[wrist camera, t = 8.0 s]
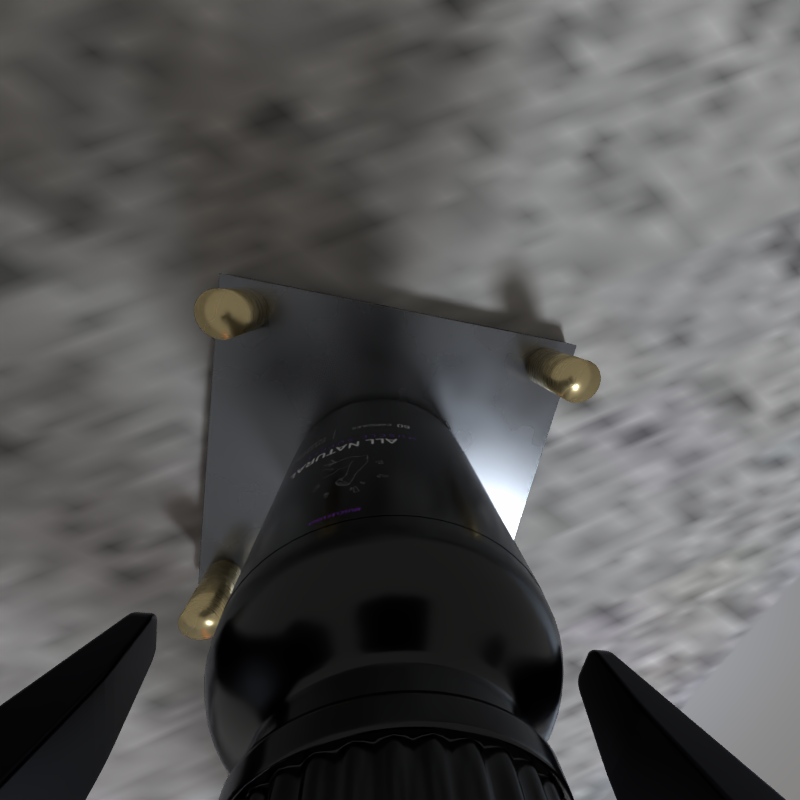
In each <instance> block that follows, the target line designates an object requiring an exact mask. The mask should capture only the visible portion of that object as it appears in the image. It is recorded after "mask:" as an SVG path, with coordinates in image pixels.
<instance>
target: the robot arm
mask: <svg viewBox="0 0 800 800" xmlns="http://www.w3.org/2000/svg"><path fill="white" fill-rule="evenodd" d="M156 633H157V617H156V615H155V614H152V613H140V612H134V613H131V614H129V615H127V616H126V617H124V618H123V619H122V620H120V621H119V622H117V623H116V624H115V625H113V626H112V627H110V628H109V629H107V630H106V631H105V632H103V633H102V634H100V635H99V636H98V637H96V638H95V639H93V640H92V641H91V642H89V643H88V644H86V645H85V646H84V647H82V648H81V649H79V650H78V651H77V652H75V653H74V654H72V655H71V656H69V657H68V658H67V659H65V660H64V661H62V662H61V663H60V664H58V665H57V666H55V667H54V668H53V669H51V670H50V671H48V672H47V673H46V674H44V675H43V676H41V677H40V678H39V679H37V680H36V681H34V682H33V683H31V684H30V685H29V686H27V687H26V688H24V689H23V690H22V691H20V692H19V693H17V694H16V695H15V696H13V697H12V698H10V699H9V700H8V701H6V702H5V703H3V704H2V705H1V706H0V800H86V798H87V796H88V794H89V793H90V791H91V789H92V787H93V785H94V784H95V782H96V780H97V778H98V776H99V774H100V772H101V771H102V769H103V767H104V765H105V763H106V761H107V759H108V757H109V755H110V753H111V750H112V748H113V746H114V744H115V742H116V740H117V737H118V735H119V733H120V731H121V729H122V726H123V724H124V722H125V720H126V718H127V715H128V713H129V711H130V709H131V707H132V704H133V702H134V700H135V698H136V696H137V693H138V691H139V689H140V687H141V684H142V682H143V680H144V678H145V676H146V673H147V671H148V669H149V667H150V665H151V662H152V660H153V657H154V654H155V650H156ZM578 685H579V690H580V694H581V697H582V700H583V703H584V706H585V709H586V712H587V715H588V718H589V721H590V724H591V727H592V730H593V733H594V736H595V740H596V743H597V746H598V749H599V752H600V755H601V758H602V761H603V764H604V767H605V770H606V772H607V775H608V778H609V781H610V783H611V786H612V788H613V791H614V794H615V796H616V798H617V800H785V799H784V798H783V797H782V796H781V795H779V794H778V793H777V792H776V791H775V790H774V789H773V788H771V787H770V786H769V785H768V784H766V783H765V782H764V781H763V780H762V779H760V777H758V776H757V775H756V774H755V773H754V772H752V771H751V770H750V769H749V768H748V767H746V766H745V765H744V764H743V763H742V762H741V761H739V760H738V759H737V758H736V757H735V756H733V755H732V754H731V753H730V752H729V751H728V750H726V749H725V748H724V747H723V746H722V745H720V744H719V743H718V742H717V741H716V740H715V739H713V738H712V737H711V736H710V735H708V734H707V733H706V732H705V731H704V730H703V729H702V728H700V727H699V726H698V725H696V723H694V722H693V721H692V720H691V719H689V718H688V717H687V716H686V715H685V714H684V713H683V712H681V711H680V710H679V709H678V708H677V707H675V706H674V705H673V704H672V703H671V702H670V701H668V700H667V699H666V698H665V697H664V696H662V695H661V694H660V693H659V692H658V691H657V690H655V689H654V688H653V687H652V686H651V685H649V684H648V683H647V682H646V681H645V680H644V679H642V678H641V677H640V676H639V675H638V674H636V673H635V672H634V671H633V670H632V669H631V668H629V667H628V666H627V665H626V664H625V663H623V662H622V661H621V660H620V659H619V658H617V657H616V656H615V655H614V654H613V653H611V652H609V651H602V650H592V651H590V652H589V653H588V655H587V658H586V660H585V663H584V665H583V667H582V670H581V672H580V674H579V678H578Z"/></svg>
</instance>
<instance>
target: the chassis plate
mask: <svg viewBox="0 0 800 800" xmlns="http://www.w3.org/2000/svg"><path fill="white" fill-rule="evenodd" d="M194 314H195V319H196V321H197V323H198V325H199V327H200V328H201V329H202V330H203V331H204V332H205V333H206V334H207V335H209V336H211V337H213V338H215V344H214V359H213V374H212V389H211V404H210V419H209V434H208V449H207V463H206V478H205V493H204V508H203V523H202V538H201V553H200V568H199V583H198V586H197V588H196V590H195V592H194V593H193V595H192V597H191V599H190V600H189V602H188V604H187V606H186V607H185V609H184V611H183V613H182V614H181V616H180V618H179V621H178V626H179V629H180V631H181V632H182V633H183V634H184V635H185V636H187V637H189V638H191V639H195V640H204V639H208V638H211V637H212V636H214V633H215V630H216V628H217V625H218V623H219V620H220V618H221V615H222V613H223V610H224V608H225V605H226V603H227V601H228V599H229V597H230V594H231V592H232V590H233V588H234V586H235V583H236V581H237V579H238V577H239V575H240V573H241V570H242V568H243V566H244V564H245V562H246V560H247V557H248V555H249V553H250V551H251V549H252V546H253V544H254V542H255V540H256V538H257V536H258V533H259V531H260V529H261V527H262V525H263V523H264V520H265V518H266V516H267V514H268V512H269V510H270V507H271V505H272V503H273V501H274V499H275V496H276V494H277V492H278V490H279V488H280V486H281V483H282V481H283V479H284V477H285V475H286V473H287V470H288V468H289V466H290V464H291V462H292V460H293V458H294V456H295V454H296V452H297V450H298V448H299V446H300V444H301V443H302V441H303V440H304V438H305V437H306V435H307V434H308V433H309V432H310V430H311V429H312V428H313V427H314V426H315V425H316V424H317V423H318V422H319V421H321V420H322V419H323V418H324V417H326V416H327V415H329V414H330V413H332V412H333V411H335V410H337V409H339V408H341V407H344V406H346V405H349V404H352V403H356V402H359V401H365V400H372V399H389V400H397V401H402V402H406V403H409V404H413V405H415V406H418V407H420V408H422V409H424V410H426V411H428V412H429V413H431V414H432V415H434V416H435V417H436V418H438V419H439V420H440V421H441V422H442V423H443V424H444V425H445V426H446V427H447V428H448V429H449V430H450V431H451V433H452V434H453V435H454V436H455V438H456V440H457V441H458V443H459V445H460V446H461V448H462V449H463V451H464V453H465V454H466V456H467V458H468V460H469V461H470V463H471V465H472V467H473V469H474V470H475V472H476V474H477V476H478V477H479V479H480V481H481V483H482V485H483V486H484V488H485V490H486V492H487V493H488V495H489V497H490V499H491V501H492V502H493V504H494V506H495V508H496V509H497V511H498V513H499V515H500V516H501V518H502V520H503V522H504V524H505V525H506V527H507V529H508V531H509V532H510V534H511V536H512V538H513V540H514V537H515V534H516V531H517V528H518V525H519V521H520V518H521V515H522V512H523V509H524V506H525V503H526V500H527V497H528V494H529V491H530V487H531V484H532V481H533V478H534V475H535V472H536V469H537V466H538V463H539V460H540V457H541V454H542V450H543V447H544V444H545V441H546V438H547V435H548V432H549V429H550V426H551V423H552V420H553V416H554V413H555V410H556V407H557V404H558V401H559V398H560V397H562V398H563V399H565V400H567V401H569V402H573V403H579V402H583V401H586V400H588V399H589V398H591V397H592V396H593V395H594V394H595V393H596V391H597V390H598V388H599V385H600V381H601V376H600V371H599V369H598V367H597V366H596V365H595V364H594V363H592V362H590V361H587V360H584V359H581V358H578V357H575V356H573V355H574V352H575V348H576V345H573V344H569V343H566V342H561V341H556V340H551V339H546V338H541V337H536V336H531V335H526V334H521V333H516V332H511V331H506V330H501V329H496V328H491V327H486V326H481V325H476V324H471V323H466V322H462V321H457V320H452V319H447V318H442V317H437V316H432V315H427V314H422V313H417V312H412V311H407V310H402V309H397V308H392V307H387V306H382V305H377V304H372V303H367V302H362V301H357V300H352V299H347V298H342V297H338V296H333V295H328V294H323V293H318V292H313V291H308V290H303V289H298V288H293V287H288V286H283V285H278V284H273V283H268V282H263V281H258V280H253V279H248V278H243V277H238V276H233V275H228V274H219V285H218V288H215V289H210V290H207V291H205V292H204V293H202V294H201V295H200V296H199V297H198V299H197V301H196V303H195V308H194Z"/></svg>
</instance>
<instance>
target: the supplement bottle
mask: <svg viewBox="0 0 800 800" xmlns="http://www.w3.org/2000/svg"><path fill="white" fill-rule="evenodd" d="M562 686H563V654H562V646H561V640H560V635H559V631H558V628H557V625H556V621H555V618H554V616H553V614H552V611H551V609H550V607H549V605H548V603H547V601H546V599H545V597H544V594H543V592H542V590H541V588H540V586H539V584H538V582H537V581H536V579H535V577H534V575H533V573H532V572H531V570H530V568H529V566H528V565H527V563H526V561H525V559H524V557H523V556H522V554H521V552H520V550H519V548H518V547H517V545H516V543H515V541H514V540H513V538H512V536H511V534H510V532H509V531H508V529H507V527H506V525H505V524H504V522H503V520H502V518H501V516H500V515H499V513H498V511H497V509H496V508H495V506H494V504H493V502H492V501H491V499H490V497H489V495H488V493H487V492H486V490H485V488H484V486H483V485H482V483H481V481H480V479H479V477H478V476H477V474H476V472H475V470H474V469H473V467H472V465H471V463H470V461H469V460H468V458H467V456H466V454H465V453H464V451H463V449H462V448H461V446H460V445H459V443H458V441H457V440H456V438H455V436H454V435H453V434H452V433H451V431H450V430H449V429H448V428H447V427H446V426H445V425H444V424H443V423H442V422H441V421H440V420H439V419H438V418H436V417H435V416H434V415H432V414H431V413H429V412H428V411H426V410H424V409H422V408H420V407H418V406H415V405H413V404H409V403H406V402H402V401H397V400H389V399H372V400H365V401H359V402H356V403H352V404H349V405H346V406H344V407H341V408H339V409H337V410H335V411H333V412H332V413H330V414H329V415H327V416H326V417H324V418H323V419H322V420H321V421H319V422H318V423H317V424H316V425H315V426H314V427H313V428H312V429H311V430H310V432H309V433H308V434H307V435H306V437H305V438H304V440H303V441H302V443H301V444H300V446H299V448H298V450H297V452H296V454H295V456H294V458H293V460H292V462H291V464H290V466H289V468H288V470H287V473H286V475H285V477H284V479H283V481H282V483H281V486H280V488H279V490H278V492H277V494H276V496H275V499H274V501H273V503H272V505H271V507H270V510H269V512H268V514H267V516H266V518H265V520H264V523H263V525H262V527H261V529H260V531H259V533H258V536H257V538H256V540H255V542H254V544H253V546H252V549H251V551H250V553H249V555H248V557H247V560H246V562H245V564H244V566H243V568H242V570H241V573H240V575H239V577H238V579H237V581H236V583H235V586H234V588H233V590H232V592H231V594H230V597H229V599H228V601H227V603H226V605H225V608H224V610H223V613H222V615H221V618H220V620H219V623H218V625H217V628H216V630H215V633H214V636H213V638H212V641H211V644H210V648H209V652H208V656H207V661H206V669H205V677H204V694H205V708H206V714H207V720H208V726H209V730H210V733H211V736H212V740H213V743H214V746H215V748H216V751H217V753H218V755H219V757H220V759H221V761H222V763H223V765H224V767H225V768H226V770H227V771H228V773H229V776H228V778H227V780H226V782H225V784H224V786H223V789H222V791H221V794H220V797H219V800H574V799H573V796H572V793H571V791H570V788H569V786H568V783H567V781H566V778H565V776H564V774H563V771H562V769H561V766H560V764H559V762H558V760H557V757H556V755H555V753H554V752H553V750H552V748H551V747H550V745H549V744H548V743H547V741H548V739H549V737H550V735H551V733H552V730H553V727H554V724H555V721H556V718H557V715H558V712H559V707H560V702H561V696H562Z"/></svg>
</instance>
